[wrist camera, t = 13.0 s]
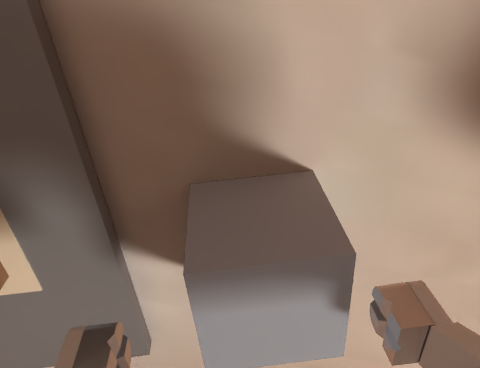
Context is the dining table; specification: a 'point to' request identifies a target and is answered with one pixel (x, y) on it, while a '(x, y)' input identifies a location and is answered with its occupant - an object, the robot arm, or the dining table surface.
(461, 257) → the dining table surface
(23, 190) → the mat
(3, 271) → the walnut block
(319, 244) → the gray block
